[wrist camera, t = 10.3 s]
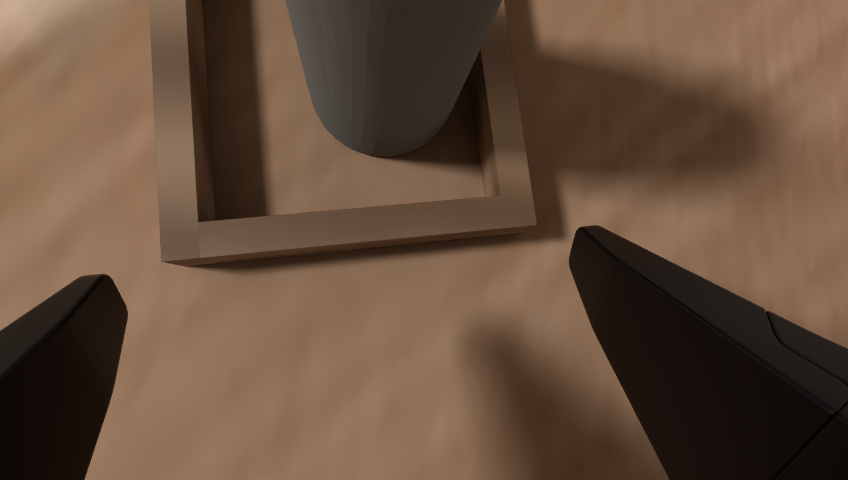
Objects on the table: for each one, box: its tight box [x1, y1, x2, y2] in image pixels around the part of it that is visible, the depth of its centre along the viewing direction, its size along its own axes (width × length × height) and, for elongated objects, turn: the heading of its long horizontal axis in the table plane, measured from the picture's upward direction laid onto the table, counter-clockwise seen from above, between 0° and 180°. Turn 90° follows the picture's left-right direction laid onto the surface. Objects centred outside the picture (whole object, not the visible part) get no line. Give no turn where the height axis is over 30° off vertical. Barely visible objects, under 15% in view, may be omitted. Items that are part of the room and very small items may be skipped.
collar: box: [149, 0, 537, 266], centre depth 18 cm, size 13×13×2 cm
